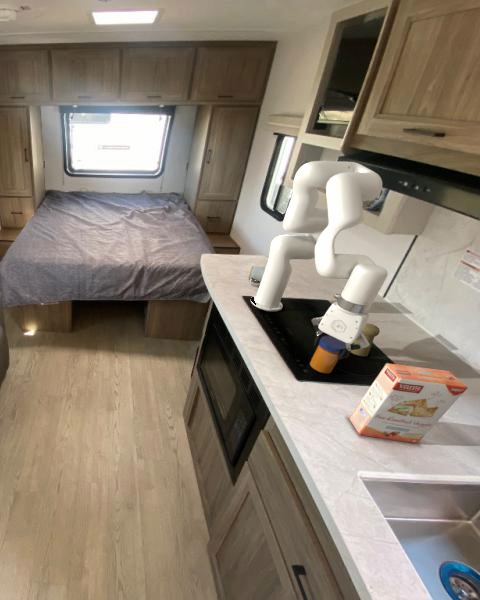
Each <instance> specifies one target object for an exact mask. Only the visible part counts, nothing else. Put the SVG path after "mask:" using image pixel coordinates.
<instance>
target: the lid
mask: <svg viewBox="0 0 480 600" xmlns="http://www.w3.org/2000/svg"><path fill="white" fill-rule="evenodd" d="M319 345H320V346H321V347H322V348H323V349H325V350H327V351H329V352H332V353H337V354H340V353H342V351H343V349H344V348H346V343H345V342H343V341H341V340H339V339H336V338H334V337H332V336H330V335H324V336H322V337H321V339H320V341H319Z"/></svg>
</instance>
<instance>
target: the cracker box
mask: <svg viewBox="0 0 480 600" xmlns="http://www.w3.org/2000/svg"><path fill="white" fill-rule="evenodd" d="M467 389H468V386H467V385H466V384H465V383H464V382H462V381H461V380H460V379H458V377H456V376H455V374H453V373H452V372H451V371H449V370H444V369H437V368H436V369H435V368H427V367H419V366H411V365H404V364H397V363H389V362H386V363H385V364H384V366H383V367H382V369H381V370H380V372H379V373H378V375H377V376H376V377H375V379H374V381H373V382H372V383H371V385H370V387H369V388H368V390H367V391H366V393H365V394H364V395H363V397H362V399H361V400H360V402H359V403H358V404H357V406H356V408H355V409H354V410H353V412H352V413H351V415H350V416H349V418H348V419H349V421H350V422H351V424H352V426H353V427H354V429H355V430H356V432H357V433H358V435H359V436H365V437H373V438H378V439H384V440H390V441H398V442H403V443H408V444H409V443H410V444H415V445H416V444H419V442H420V441H421V440H422V439H423V438H424V437H425V436H426V435H427V434H428V433H429V431H431V429H432V428H433V427H434V426H435V425H436V424H437V423H438V421H440V419H441V418H442V417H443V416H444V415H445V414H446V413H447V412H448V410H450V408H451V407H452V406H453V405H454V404H455V403H456V402H457V401H458V400H459V398H460V397H461V396H462V395H463V394H464V393H465V391H466V390H467Z"/></svg>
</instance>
